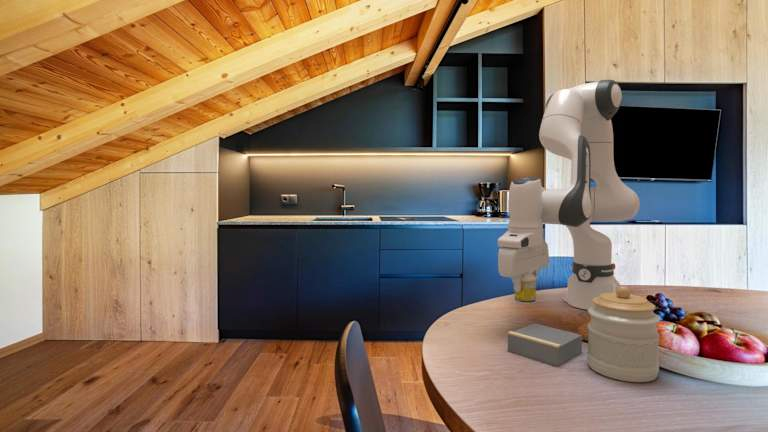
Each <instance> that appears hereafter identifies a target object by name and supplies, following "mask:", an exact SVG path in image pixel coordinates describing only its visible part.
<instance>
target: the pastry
mask: <svg viewBox="0 0 768 432" xmlns="http://www.w3.org/2000/svg"><path fill="white" fill-rule="evenodd" d="M589 323H590V320H589V321H587V322H586V323H582V324H581V325H580V326H579V327H578V328H577V332H576V334H580V335H582V341H587V342H588V324H589Z"/></svg>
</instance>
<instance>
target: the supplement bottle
mask: <svg viewBox="0 0 768 432" xmlns="http://www.w3.org/2000/svg"><path fill="white" fill-rule="evenodd" d="M532 273H533V267H532V268H530V271H529V273H525V274H522V275H521V279H520V282H521V284H523V287H522V288H523V290H521V291H515V290H514V302H515V303H517V304H519V305H525V306H530V305H535V304H536V298H537V295H536V293H537V290H536V288H537V287H536V285H537V279H536V277H535V276H534V275H533V274H532Z"/></svg>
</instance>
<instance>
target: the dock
mask: <svg viewBox="0 0 768 432" xmlns="http://www.w3.org/2000/svg"><path fill="white" fill-rule="evenodd" d="M582 344H583V340H582V335H580V334H577V333H574V332H571V331H567V330H562V329H559V328H554V327H552V326H547V325H542V324H540V323H531V324H528V325H526V326H524V327H521V328H519V329H516V330H515V331H512V330H510V331H507V351H508V352H510V353H513V354H517V355H520V356H523V357H526V358H530V359H533V360H536V361H539V362H543V363H546V364H549V365H551V366H555V367H559V366H561V365H563V364H564V363H565V362H568V361H570V360H571V359H572V358H574V357H576V356H577V355H579V354H581V353H582V352H583V348H582V346H583V345H582Z"/></svg>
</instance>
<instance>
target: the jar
mask: <svg viewBox="0 0 768 432" xmlns="http://www.w3.org/2000/svg"><path fill="white" fill-rule="evenodd" d="M592 301H593V303H594V306H593V307H591V308H589V309H588V310H587V314H589V316H590V317H589V318H590V320H589V321H590V323H589V324H588V341H587V342H588V343H587V352H586V354H587V356H586V360H587V363H588V367H590V369H592V370H593V371H594V372H595V373H598V374H600V375H602V376H605V377H606V378H610V379H613V380H617V381H623V382H629V383H646V382H647V383H648V382H652V381H654V380H656V379H657V378H658V373H659V371H660V363H659V347H660V346H659V339H660V337H661V335H660V332H658V327H657V326H658V324H659V323H660V322H661V317H660V316H659V315H657V314H656V313H655V312H654V311H655V309H656V305H655V304H654V303H651V302H650V300H648V299H647V298H646V297H643V296H640V295H636V294H631V291H630V288H629V287H628V286H624V285H621V286H620V287H618V288H617V289H616V293H603V294H601V295H600V296H598V297H595V298H594V299H593V300H592Z"/></svg>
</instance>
